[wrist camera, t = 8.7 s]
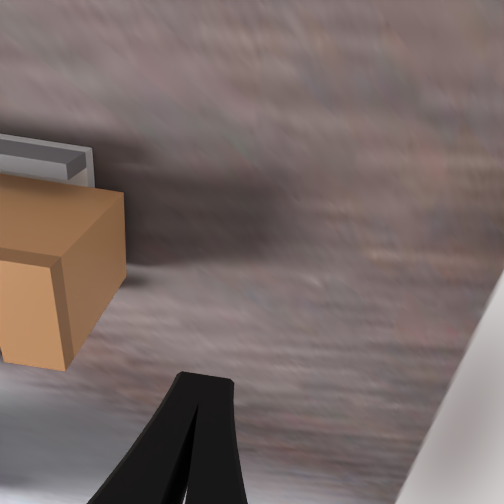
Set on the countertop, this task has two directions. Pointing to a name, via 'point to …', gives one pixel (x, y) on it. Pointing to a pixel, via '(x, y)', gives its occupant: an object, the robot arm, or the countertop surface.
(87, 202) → the orange stepped block
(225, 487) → the robot arm
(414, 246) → the countertop surface
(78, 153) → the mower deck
